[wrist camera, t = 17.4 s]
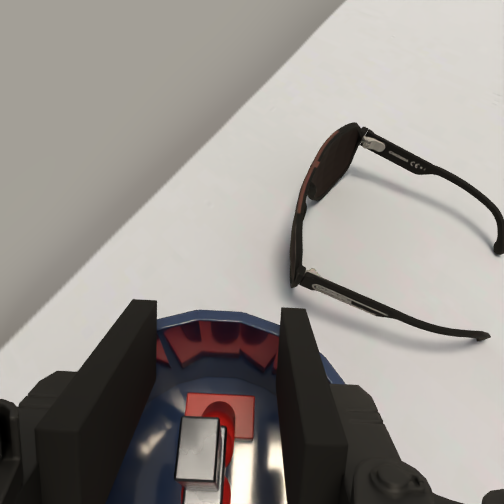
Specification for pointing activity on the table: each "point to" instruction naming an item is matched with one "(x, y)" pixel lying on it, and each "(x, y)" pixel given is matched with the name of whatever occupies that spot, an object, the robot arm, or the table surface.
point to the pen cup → (214, 382)
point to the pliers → (210, 444)
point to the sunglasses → (327, 175)
